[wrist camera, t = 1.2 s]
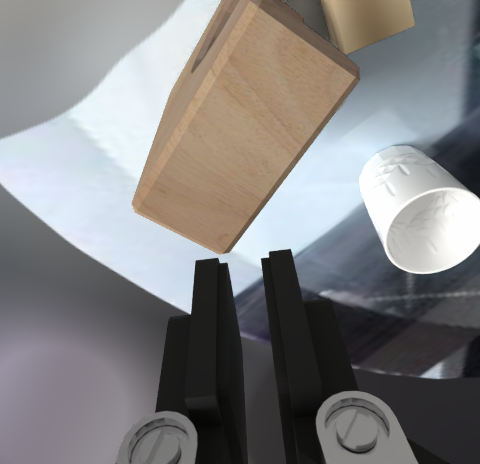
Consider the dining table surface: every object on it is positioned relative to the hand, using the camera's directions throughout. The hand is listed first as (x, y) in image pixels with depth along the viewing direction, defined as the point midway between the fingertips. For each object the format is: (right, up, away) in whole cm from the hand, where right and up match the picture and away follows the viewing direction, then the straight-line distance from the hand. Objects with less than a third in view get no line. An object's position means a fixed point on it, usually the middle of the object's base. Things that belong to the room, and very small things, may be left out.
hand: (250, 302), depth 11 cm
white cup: (+14, +7, +32) cm, 36 cm away
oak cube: (+8, +20, +24) cm, 32 cm away
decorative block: (-1, +16, +26) cm, 30 cm away
